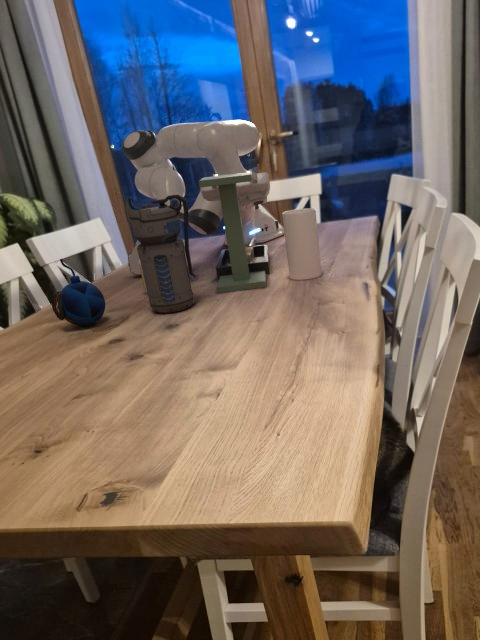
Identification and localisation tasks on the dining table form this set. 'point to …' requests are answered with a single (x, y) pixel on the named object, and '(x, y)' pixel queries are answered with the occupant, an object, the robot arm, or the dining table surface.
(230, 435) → the dining table surface
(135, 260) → the sculpture
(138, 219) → the grenade canister
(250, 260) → the tan rectangular bar
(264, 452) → the dining table surface
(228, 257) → the tray
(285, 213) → the cup
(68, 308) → the bomb
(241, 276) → the stand
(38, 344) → the dining table surface
